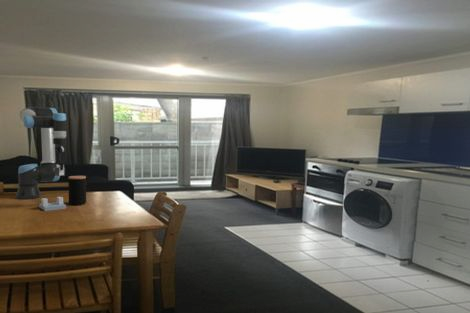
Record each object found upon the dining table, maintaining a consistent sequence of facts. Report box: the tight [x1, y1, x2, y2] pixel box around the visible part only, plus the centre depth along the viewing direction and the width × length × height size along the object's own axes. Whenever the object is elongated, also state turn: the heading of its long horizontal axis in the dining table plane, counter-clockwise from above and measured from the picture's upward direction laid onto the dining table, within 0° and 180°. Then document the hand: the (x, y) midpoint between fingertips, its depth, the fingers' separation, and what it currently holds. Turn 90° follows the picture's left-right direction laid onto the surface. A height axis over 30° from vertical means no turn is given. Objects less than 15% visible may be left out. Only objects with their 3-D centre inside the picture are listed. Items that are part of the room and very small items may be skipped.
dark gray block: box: [55, 167, 66, 177], centre depth 234 cm, size 4×5×5 cm
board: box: [38, 196, 67, 212], centre depth 230 cm, size 14×12×6 cm
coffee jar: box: [68, 175, 87, 206], centre depth 242 cm, size 11×11×18 cm
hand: (60, 174), depth 234 cm, fingers closed on dark gray block, 4 cm apart
